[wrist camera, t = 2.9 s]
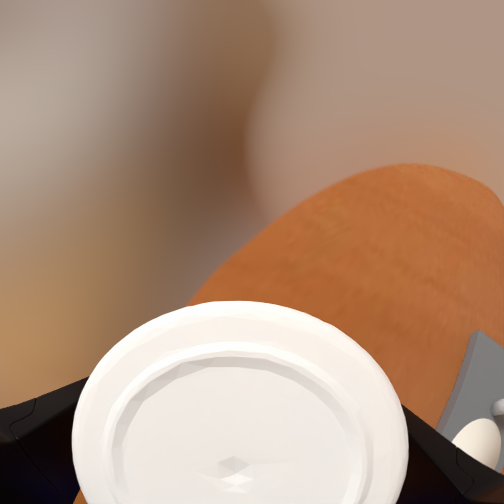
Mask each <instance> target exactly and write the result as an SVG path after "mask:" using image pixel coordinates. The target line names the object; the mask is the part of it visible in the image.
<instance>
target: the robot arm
mask: <svg viewBox="0 0 504 504" xmlns="http://www.w3.org/2000/svg"><path fill="white" fill-rule="evenodd" d="M89 377H90V376H88V377H86V378H84V379H81V380H79V381H77V382H74V383H72V384H69V385H67V386H64V387H62V388H59V389H57V390H54V391H52V392H49V393H47V394H44V395H42V396H39V397H37V398H34V399H31V400H28V401H26V402H23V403H20V404H17V405H13V406H10V407H6V408H2V409H0V504H73V502H74V500H75V498H76V496H77V494H78V492H79V490H80V485H79V482H78V479H77V475H76V471H75V467H74V463H73V453H72V429H73V422H74V415H75V411H76V408H77V404H78V401H79V398H80V395H81V393H82V391H83V389H84V386H85V384H86V382H87V380H88V379H89ZM400 404H401V403H400ZM401 407H402V409H403V413H404V416H405V419H406V425H407V431H408V444H409V449H408V464H407V471H406V477H405V480H404V483H403V486H402V489H401V492H400V495H399V498H398V500H397V502H396V504H504V475H503V474H501V473H499V472H497V471H495V470H493V469H492V468H490V467H488V466H486V465H484V464H483V463H481V462H479V461H478V460H476V459H474V458H473V457H471V456H470V455H468V454H467V453H466V452H464V451H463V450H461V449H460V448H459V447H457V446H456V445H455V444H453V443H452V442H451V441H449V440H448V439H447V438H445V437H444V436H443V435H441V434H440V433H439V432H437V431H436V430H435V429H433V428H432V427H431V426H429V425H428V424H427V423H425V422H424V421H423V420H422V419H420V418H419V417H418V416H416V415H415V414H414V413H412V412H411V411H410V410H409V409H407V408H406V407H405V406H403V405H402V404H401Z"/></svg>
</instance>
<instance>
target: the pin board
mask: <svg viewBox="0 0 504 504" xmlns="http://www.w3.org/2000/svg"><path fill="white" fill-rule="evenodd" d="M435 430H436V431H437V432H439V433H440V434H441V435H443V436H444V437H445V438H447V439H448V440H449V441H451V442H452V443H453V444H455V445H456V446H457V447H459V448H460V449H461V450H463V451H464V452H466V453H467V454H468V455H470V456H471V457H473V458H474V459H476V460H478V461H479V462H481V463H483V464H484V465H486V466H488V467H490V468H492V469H493V470H495V471H497V472H499V473H501V471H502V468H503V466H504V348H502V347H501V346H500V345H499V344H497V343H496V342H495V341H493V340H492V339H491V338H490V337H488V336H487V335H486V334H484V333H483V332H482V331H480V330H477V331H476V332H474V333H472V334H471V337H470V341H469V344H468V348H467V351H466V354H465V357H464V360H463V364H462V367H461V369H460V372H459V375H458V378H457V381H456V383H455V386H454V389H453V391H452V394H451V396H450V399H449V401H448V403H447V406H446V408H445V410H444V412H443V415H442V417H441V419H440V421H439V423H438V425H437V427H436V429H435Z"/></svg>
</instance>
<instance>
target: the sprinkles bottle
mask: <svg viewBox="0 0 504 504" xmlns="http://www.w3.org/2000/svg"><path fill="white" fill-rule="evenodd" d="M408 449H409V444H408V431H407V425H406V419H405V416H404V413H403V409H402V407H401V404H400V401H399V398H398V396H397V394H396V392H395V390H394V388H393V386H392V384H391V383H390V381H389V379H388V377H387V376H386V374H385V373H384V371H383V370H382V369H381V367H380V366H379V365H378V364H377V363H376V361H375V360H374V359H373V358H372V357H371V356H370V355H369V354H368V353H367V352H366V351H365V350H364V349H363V348H362V347H361V346H359V345H358V344H357V343H356V342H355V341H354V340H352V339H351V338H350V337H348V336H347V335H346V334H344V333H343V332H342V331H340V330H339V329H337V328H336V327H334V326H333V325H330V324H328V323H325V322H323V321H321V320H319V319H317V318H315V317H313V316H311V315H308V314H306V313H303V312H300V311H297V310H294V309H291V308H287V307H283V306H279V305H274V304H268V303H261V302H250V301H223V302H209V303H203V304H199V305H195V306H191V307H185V308H182V309H179V310H176V311H173V312H171V313H167V314H165V315H162V316H160V317H158V318H156V319H153V320H151V321H149V322H147V323H146V324H144V325H142V326H140V327H139V328H137V329H135V330H134V331H133V332H131V333H130V334H129V335H127V336H126V337H125V338H124V339H122V340H121V341H120V342H118V343H117V344H116V345H115V346H114V347H113V348H112V349H111V350H110V351H109V352H108V353H107V354H106V355H105V356H104V357H103V358H102V359H101V361H100V362H99V363H98V364H97V366H96V368H95V369H94V371H93V372H92V374H91V375H90V377H89V379H88V380H87V382H86V384H85V386H84V389H83V391H82V393H81V395H80V398H79V401H78V404H77V408H76V411H75V415H74V422H73V429H72V453H73V463H74V467H75V471H76V475H77V479H78V482H79V485H80V488H81V490H82V493H83V495H84V497H85V499H86V501H87V503H88V504H396V502H397V500H398V498H399V495H400V492H401V489H402V486H403V483H404V480H405V477H406V471H407V464H408Z"/></svg>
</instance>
